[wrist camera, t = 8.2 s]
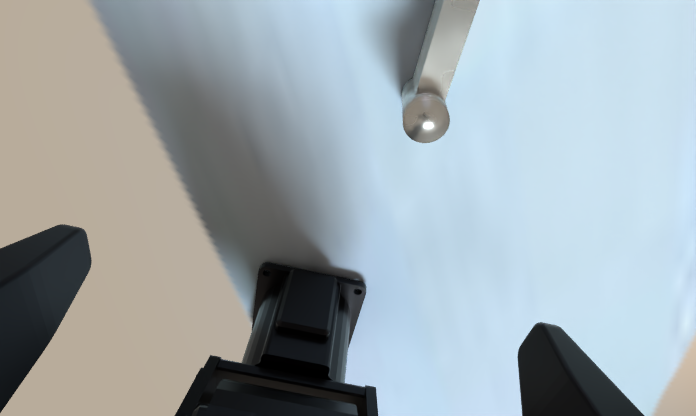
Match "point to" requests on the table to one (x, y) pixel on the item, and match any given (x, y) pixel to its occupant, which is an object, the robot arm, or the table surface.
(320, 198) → the table surface
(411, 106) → the steel rail
